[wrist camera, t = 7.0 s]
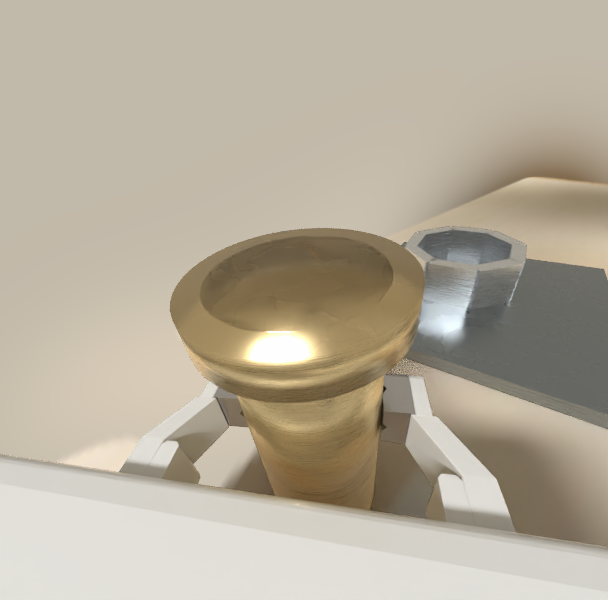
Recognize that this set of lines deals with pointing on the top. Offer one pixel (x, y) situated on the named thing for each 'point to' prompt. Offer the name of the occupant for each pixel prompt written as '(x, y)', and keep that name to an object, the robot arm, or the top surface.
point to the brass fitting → (305, 348)
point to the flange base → (513, 320)
